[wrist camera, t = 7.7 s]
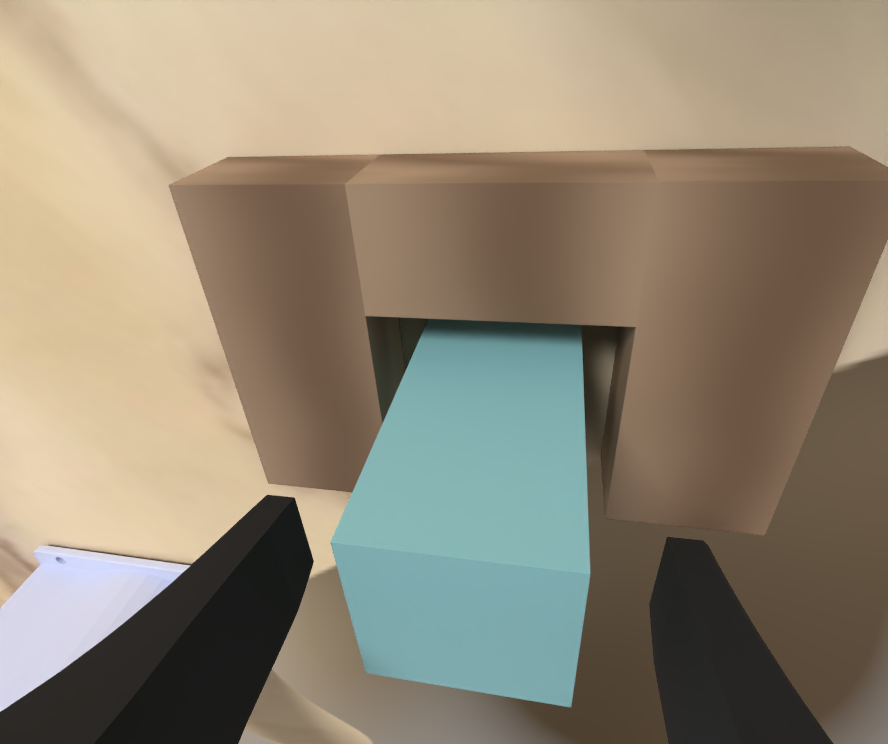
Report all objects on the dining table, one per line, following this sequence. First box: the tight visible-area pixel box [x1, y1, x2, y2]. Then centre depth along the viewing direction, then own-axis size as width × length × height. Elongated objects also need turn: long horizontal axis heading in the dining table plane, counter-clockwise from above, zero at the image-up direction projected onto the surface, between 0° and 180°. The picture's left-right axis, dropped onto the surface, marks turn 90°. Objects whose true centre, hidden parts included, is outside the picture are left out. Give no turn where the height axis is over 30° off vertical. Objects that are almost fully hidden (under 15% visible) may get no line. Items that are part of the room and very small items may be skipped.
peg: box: [331, 319, 590, 707], centre depth 13 cm, size 4×4×8 cm
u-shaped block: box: [169, 147, 888, 535], centre depth 14 cm, size 14×9×2 cm, turn 93°
